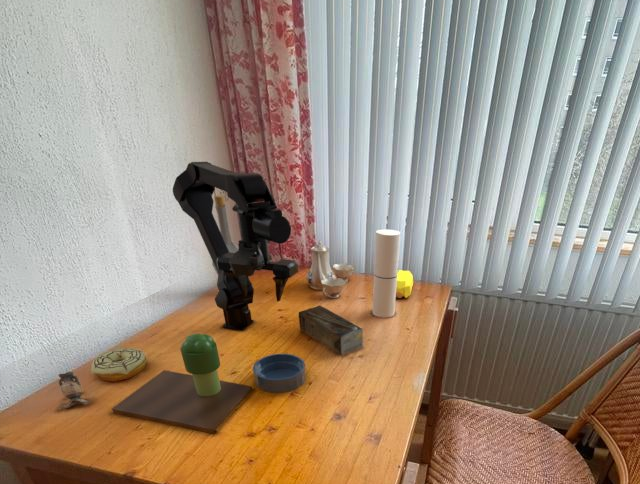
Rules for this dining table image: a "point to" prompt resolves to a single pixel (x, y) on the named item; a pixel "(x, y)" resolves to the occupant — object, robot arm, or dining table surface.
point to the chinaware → (327, 272)
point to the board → (182, 402)
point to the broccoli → (202, 363)
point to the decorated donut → (119, 364)
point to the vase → (71, 389)
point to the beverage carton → (331, 329)
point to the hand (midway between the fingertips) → (261, 298)
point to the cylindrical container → (385, 272)
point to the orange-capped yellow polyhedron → (404, 284)
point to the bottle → (224, 225)
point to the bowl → (279, 373)
